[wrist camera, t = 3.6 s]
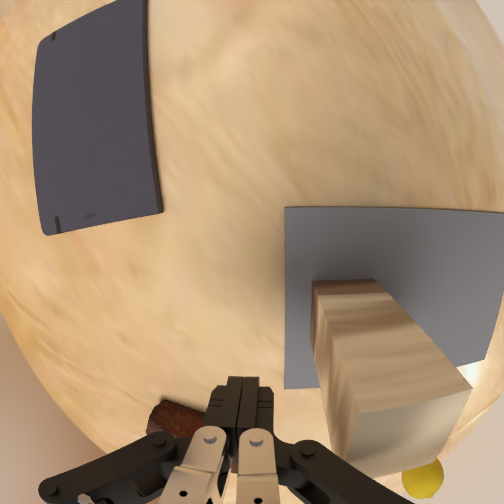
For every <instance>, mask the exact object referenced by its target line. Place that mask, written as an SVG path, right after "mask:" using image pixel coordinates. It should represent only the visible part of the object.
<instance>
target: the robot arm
mask: <svg viewBox="0 0 504 504" xmlns="http://www.w3.org/2000/svg"><path fill="white" fill-rule="evenodd" d="M273 414H274V393H273V392H272V390H271V388H270V387H259V377H240V376H229V377H228V381H227V385H226V386H221V385H218V386H217V387H216V388H215V389H214V390H213V391H212V393H211V397H210V400H209V404H208V407H207V411H206V414H205V418H204V421H203V425H202V428H200V429H198V430H197V431H196V432H195V434H194V435H193V436H190V437H186V438H177V439H175V438H174V437H173V435H171V434H170V433H168V432H164V431H157V432H153V433H151V434H149V435H147V436H145V437H143V438H141V439H139V440H137V441H135V442H133V443H131V444H129V445H127V446H124V447H122V448H120V449H118V450H116V451H114V452H112V453H109V454H107V455H105V456H103V457H100V458H98V459H96V460H94V461H91V462H89V463H86V464H84V465H82V466H79V467H77V468H74V469H72V470H69V471H67V472H64V473H61V474H58V475H56V476H53V477H50V478H47V479H45V480H43V481H42V482H41V483H40V485H39V488H38V491H39V495H40V497H41V498H42V499H43V500H44V501H45V502H46V503H47V504H146V503H148V502H150V501H152V500H153V499H155V498H157V497H159V496H161V497H160V500H159V502H158V504H223V500H224V496H225V492H226V488H227V485H228V481H229V477H230V473H231V466H232V459H233V458H238V457H239V472H238V475H237V499H236V504H280V496H279V485H283V486H287V488H288V489H289V490H290V491H291V492H292V493H293V494H294V495H295V496H296V497H298V498H299V499H300V500H301V501H302V502H303V503H305V504H414V503H412V502H411V501H409V500H407V499H405V498H403V497H402V496H400V495H398V494H396V493H395V492H393V491H391V490H390V489H388V488H386V487H385V486H383V485H381V484H380V483H378V482H376V481H375V480H373V479H372V478H370V477H368V476H367V475H365V474H364V473H362V472H361V471H359V470H358V469H356V468H355V467H353V466H352V465H350V464H349V463H347V462H346V461H344V460H343V459H341V458H340V457H338V456H337V455H336V454H334V453H333V452H331V451H330V450H329V449H327V448H326V447H324V446H323V445H322V444H320V443H319V442H317V441H314V440H302V441H299V442H297V443H296V444H289V443H286V442H283V441H281V440H279V439H278V438H277V437H276V436H275V434H274V432H273ZM278 484H279V485H278Z"/></svg>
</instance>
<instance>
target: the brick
mask: <svg viewBox="0 0 504 504" xmlns="http://www.w3.org/2000/svg"><path fill="white" fill-rule="evenodd" d="M204 418H205V413H202V412H199V411H196V410H193V409H190V408H187V407H184V406H181V405H178V404H175V403H172V402H169V401H166V400H164V401H162V402H161V403H160V404H158V405H157V406H155V407H154V409H153V410H152V413H151V414H150V417H149V420H148V425H147V429H146V434H147V435H149V434H151V433H153V432H157V431H164V432H168V433H170V434H171V435H173V437H174V438H175V439H177V438H186V437H190V436H193V435H194V434H195V432H196V431H197V430H198V429H200V428H202V425H203V421H204ZM238 472H239V457H238V458H233V459H232V466H231V473H236V474H238Z"/></svg>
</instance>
